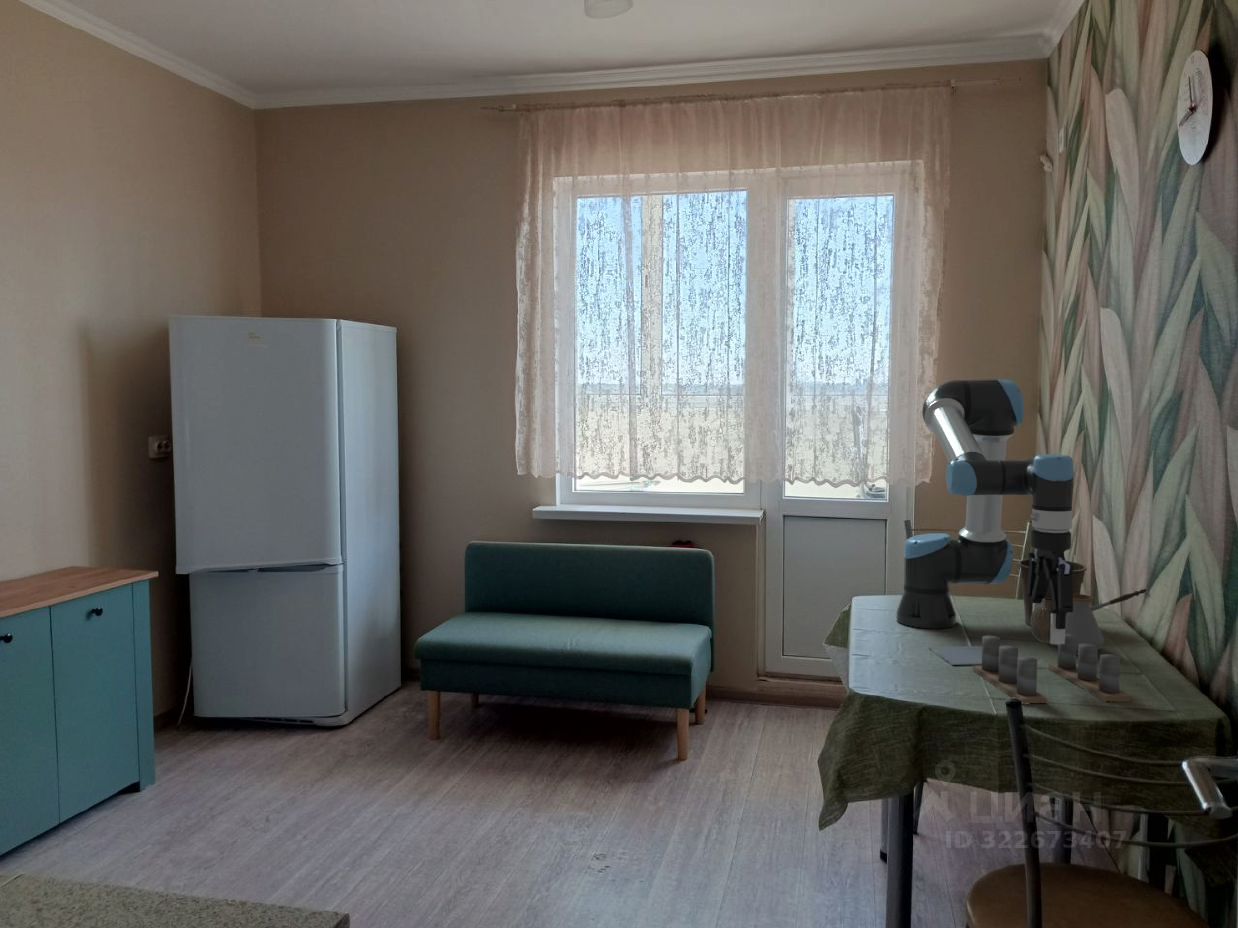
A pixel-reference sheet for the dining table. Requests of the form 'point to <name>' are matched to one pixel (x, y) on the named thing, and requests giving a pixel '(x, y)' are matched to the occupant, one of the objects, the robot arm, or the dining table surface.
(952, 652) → the mat
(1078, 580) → the plant pot
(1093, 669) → the spacer rack
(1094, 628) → the coffee pot
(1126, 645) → the dining table surface
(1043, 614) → the vase
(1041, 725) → the dining table surface
